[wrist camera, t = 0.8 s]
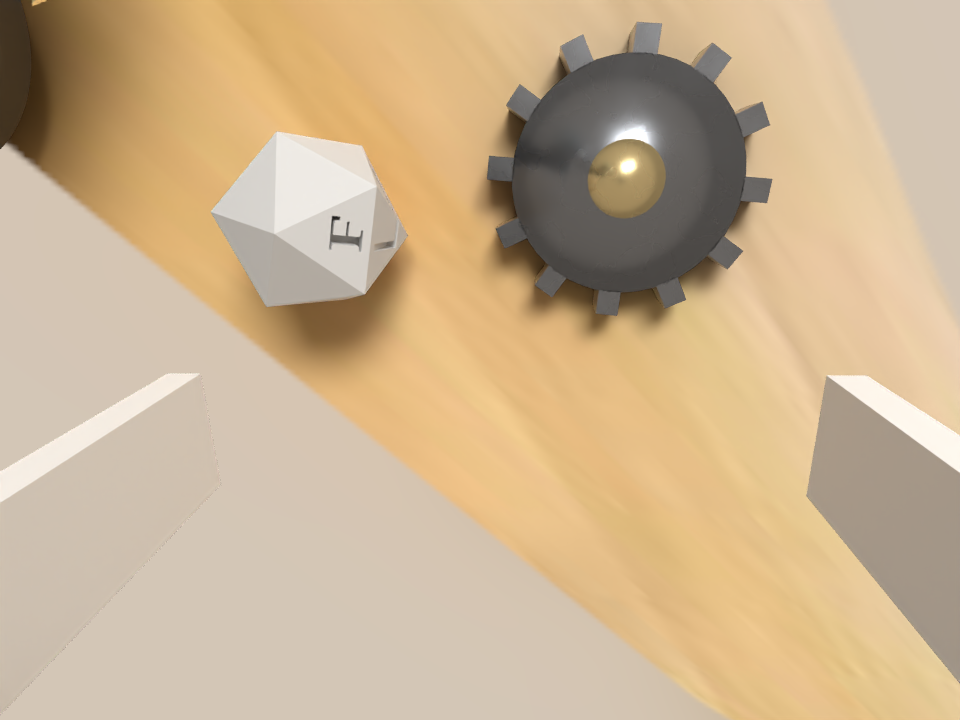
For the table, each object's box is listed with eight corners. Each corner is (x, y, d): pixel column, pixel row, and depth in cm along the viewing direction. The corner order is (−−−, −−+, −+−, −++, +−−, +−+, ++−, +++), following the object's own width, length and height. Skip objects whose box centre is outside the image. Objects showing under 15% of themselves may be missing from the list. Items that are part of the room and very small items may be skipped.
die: (408, 299, 37) (361, 343, 28) (269, 273, 38) (176, 307, 28) (428, 157, 34) (383, 151, 25) (278, 130, 35) (178, 114, 25)
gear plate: (443, 211, 35) (435, 214, 33) (597, -28, 31) (601, -44, 28) (640, 352, 36) (646, 364, 34) (815, 142, 32) (837, 140, 30)
